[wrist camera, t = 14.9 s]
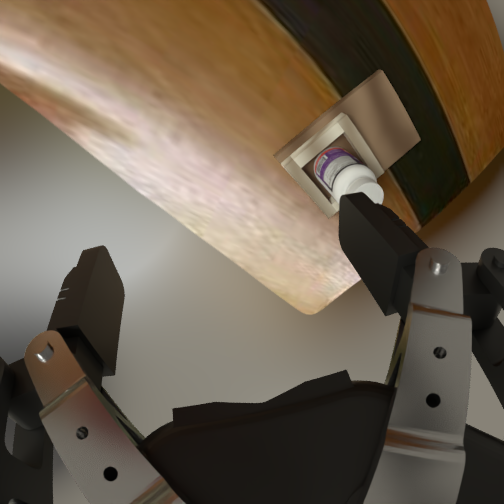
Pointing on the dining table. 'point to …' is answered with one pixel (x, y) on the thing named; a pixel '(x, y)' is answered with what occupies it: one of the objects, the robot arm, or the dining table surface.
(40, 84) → the dining table surface
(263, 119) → the dining table surface
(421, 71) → the dining table surface
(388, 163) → the socket board
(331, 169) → the pill bottle
